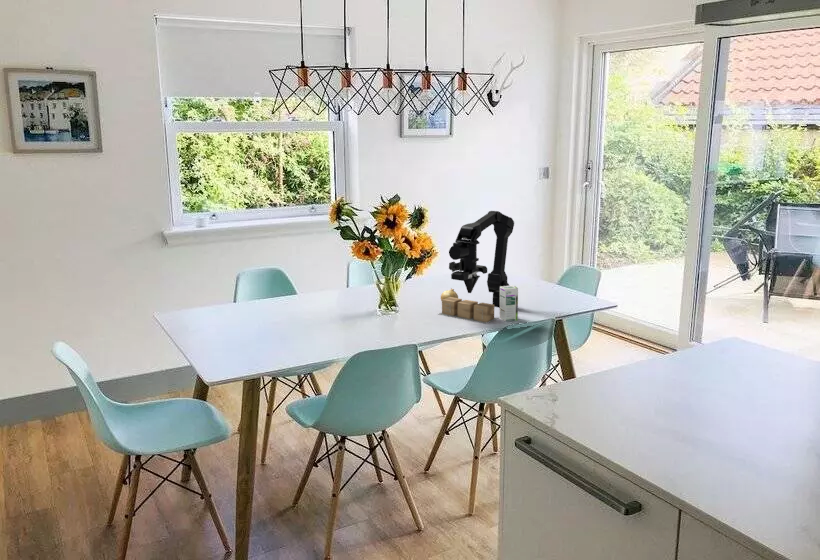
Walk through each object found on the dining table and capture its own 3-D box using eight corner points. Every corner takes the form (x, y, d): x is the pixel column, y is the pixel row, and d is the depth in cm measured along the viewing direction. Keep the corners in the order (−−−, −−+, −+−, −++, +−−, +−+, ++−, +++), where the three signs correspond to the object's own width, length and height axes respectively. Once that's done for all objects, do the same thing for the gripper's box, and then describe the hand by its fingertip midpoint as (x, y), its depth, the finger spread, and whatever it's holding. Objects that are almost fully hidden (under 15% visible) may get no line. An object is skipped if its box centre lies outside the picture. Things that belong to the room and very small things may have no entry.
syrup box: (504, 323, 278) (505, 288, 275) (499, 320, 284) (499, 285, 281) (517, 322, 280) (518, 287, 277) (511, 318, 285) (512, 284, 282)
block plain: (465, 313, 291) (465, 299, 289) (477, 315, 287) (477, 301, 286) (457, 316, 286) (457, 302, 285) (469, 318, 282) (469, 304, 281)
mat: (451, 311, 298) (451, 309, 298) (498, 320, 283) (498, 318, 283) (437, 316, 290) (437, 314, 290) (485, 326, 276) (485, 323, 275)
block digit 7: (481, 316, 286) (481, 302, 284) (494, 318, 282) (494, 304, 281) (473, 319, 281) (473, 305, 280) (485, 322, 277) (486, 307, 276)
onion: (456, 306, 306) (457, 291, 304) (439, 306, 307) (439, 290, 306) (459, 302, 313) (459, 287, 312) (442, 301, 315) (442, 286, 313)
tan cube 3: (450, 310, 295) (450, 296, 294) (461, 312, 292) (461, 299, 290) (441, 313, 291) (441, 299, 289) (453, 315, 287) (453, 301, 286)
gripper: (465, 250, 295) (465, 285, 299) (440, 257, 281) (440, 294, 285) (488, 253, 288) (487, 289, 292) (463, 260, 274) (463, 298, 278)
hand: (469, 292), depth 287 cm, fingers closed
